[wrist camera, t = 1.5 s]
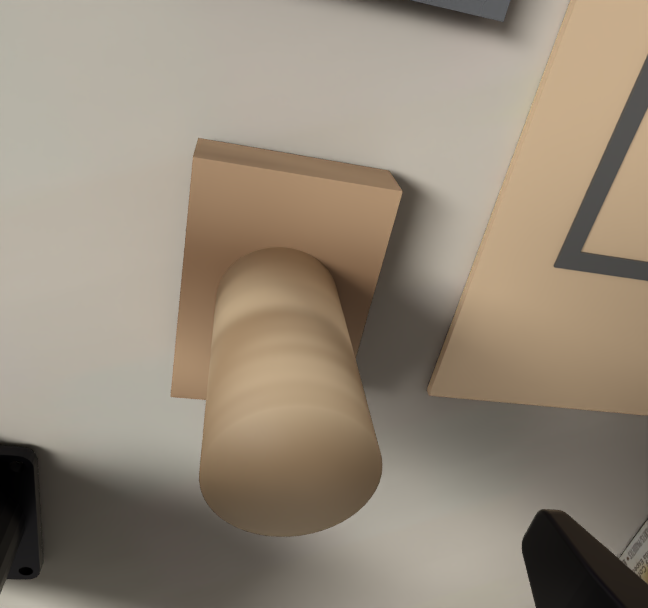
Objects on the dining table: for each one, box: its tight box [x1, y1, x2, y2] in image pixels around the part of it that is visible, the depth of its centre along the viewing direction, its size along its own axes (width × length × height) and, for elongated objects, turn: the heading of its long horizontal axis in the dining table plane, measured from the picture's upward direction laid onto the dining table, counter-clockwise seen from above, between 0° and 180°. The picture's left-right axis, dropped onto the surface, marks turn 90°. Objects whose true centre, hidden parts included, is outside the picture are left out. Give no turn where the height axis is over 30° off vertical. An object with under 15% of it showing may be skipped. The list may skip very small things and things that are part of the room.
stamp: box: [171, 138, 403, 537], centre depth 14 cm, size 7×5×8 cm
